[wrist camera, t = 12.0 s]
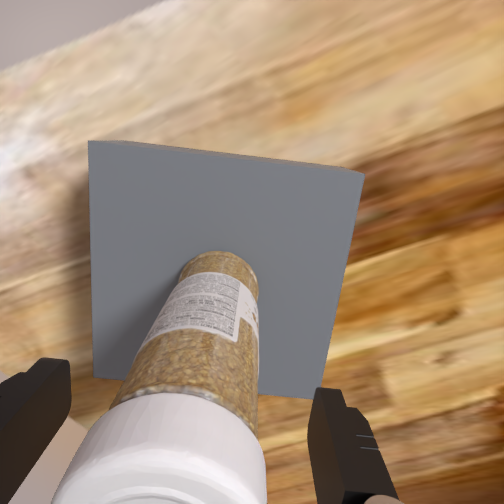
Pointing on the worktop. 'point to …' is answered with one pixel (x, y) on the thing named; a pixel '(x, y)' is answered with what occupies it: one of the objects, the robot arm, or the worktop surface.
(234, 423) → the spice jar
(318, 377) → the grey block
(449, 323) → the worktop surface
